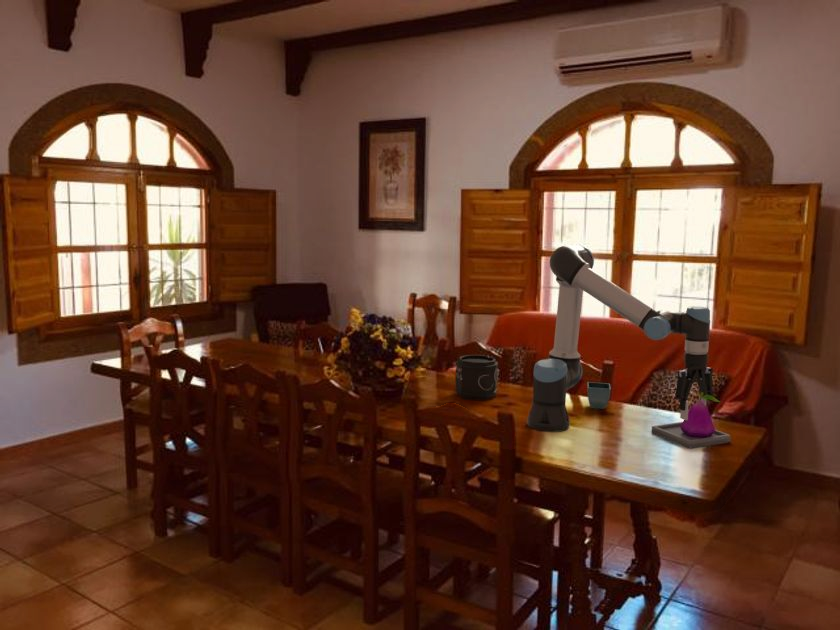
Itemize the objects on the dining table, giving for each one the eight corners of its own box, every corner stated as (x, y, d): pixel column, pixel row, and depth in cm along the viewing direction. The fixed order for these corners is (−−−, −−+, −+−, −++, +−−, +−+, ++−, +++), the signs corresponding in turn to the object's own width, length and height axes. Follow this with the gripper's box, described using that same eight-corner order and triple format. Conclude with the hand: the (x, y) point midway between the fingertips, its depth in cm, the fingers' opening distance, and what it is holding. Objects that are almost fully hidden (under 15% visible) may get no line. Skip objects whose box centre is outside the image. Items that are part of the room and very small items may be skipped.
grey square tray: (689, 448, 237) (689, 441, 237) (651, 433, 254) (651, 426, 253) (730, 442, 245) (730, 435, 244) (690, 427, 261) (691, 420, 260)
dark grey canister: (505, 393, 305) (506, 357, 302) (486, 403, 290) (487, 364, 287) (468, 387, 314) (468, 352, 312) (447, 396, 299) (447, 359, 297)
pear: (698, 440, 241) (701, 397, 239) (673, 431, 251) (675, 389, 248) (722, 435, 246) (724, 392, 244) (696, 426, 256) (698, 385, 254)
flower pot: (609, 411, 280) (611, 388, 279) (586, 409, 282) (587, 387, 281) (608, 405, 289) (609, 383, 288) (586, 403, 291) (587, 381, 289)
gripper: (681, 357, 237) (678, 424, 240) (727, 351, 245) (723, 417, 249) (665, 352, 244) (662, 418, 247) (710, 348, 252) (706, 411, 255)
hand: (692, 417), depth 248 cm, fingers open, 7 cm apart
